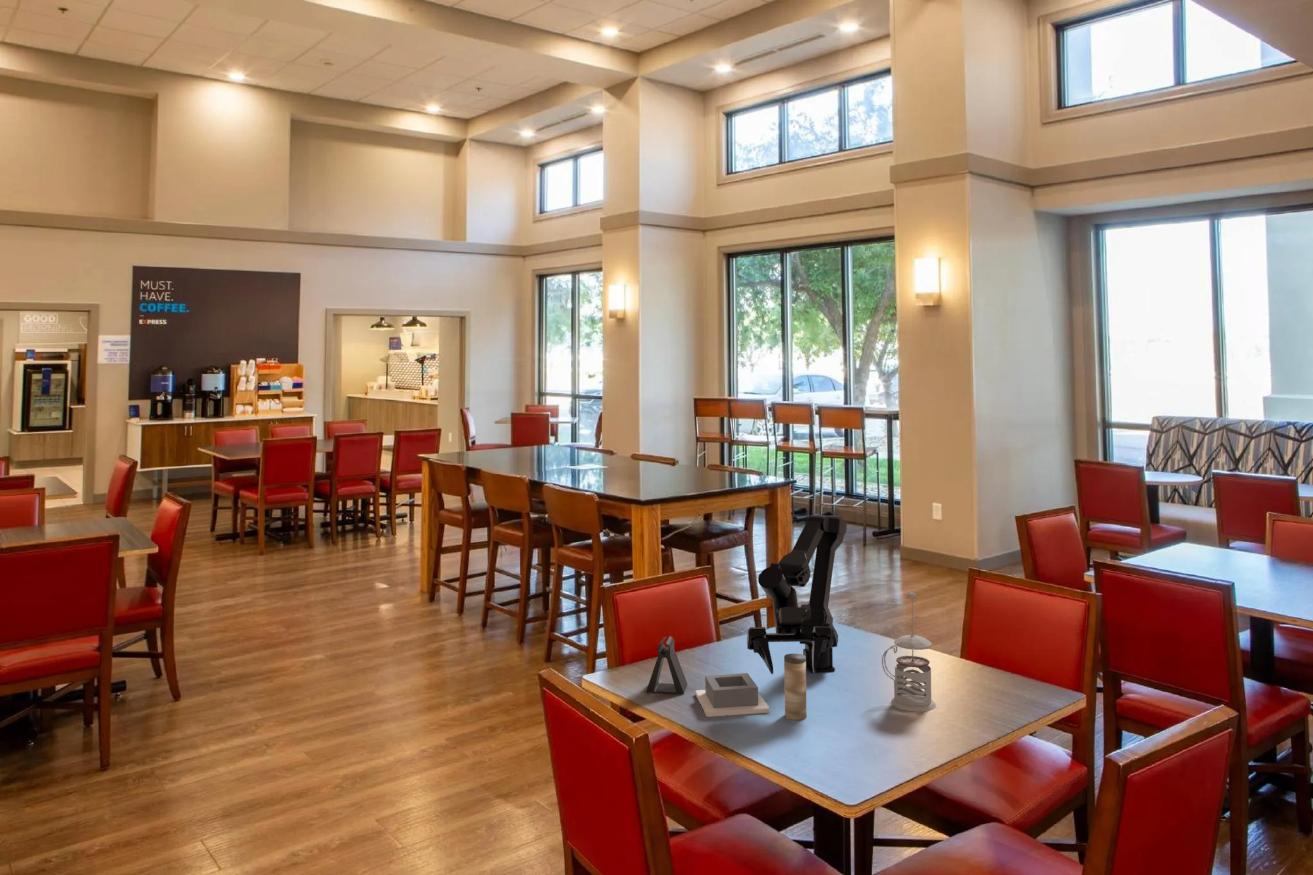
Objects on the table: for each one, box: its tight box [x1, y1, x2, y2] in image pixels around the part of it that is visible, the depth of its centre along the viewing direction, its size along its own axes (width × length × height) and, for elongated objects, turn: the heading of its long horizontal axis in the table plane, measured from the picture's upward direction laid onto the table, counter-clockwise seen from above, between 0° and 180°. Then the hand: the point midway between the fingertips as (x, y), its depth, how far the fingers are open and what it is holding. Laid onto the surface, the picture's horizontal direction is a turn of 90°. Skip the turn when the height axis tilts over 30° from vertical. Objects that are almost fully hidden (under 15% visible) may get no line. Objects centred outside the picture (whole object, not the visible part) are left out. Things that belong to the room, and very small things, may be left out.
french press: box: [881, 592, 937, 712], centre depth 189 cm, size 10×12×25 cm
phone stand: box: [646, 635, 688, 695], centre depth 201 cm, size 9×6×12 cm, turn 79°
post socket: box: [694, 672, 771, 718], centre depth 191 cm, size 14×14×5 cm
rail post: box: [783, 653, 808, 721], centre depth 183 cm, size 5×5×13 cm
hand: (793, 672), depth 184 cm, fingers open, 9 cm apart
